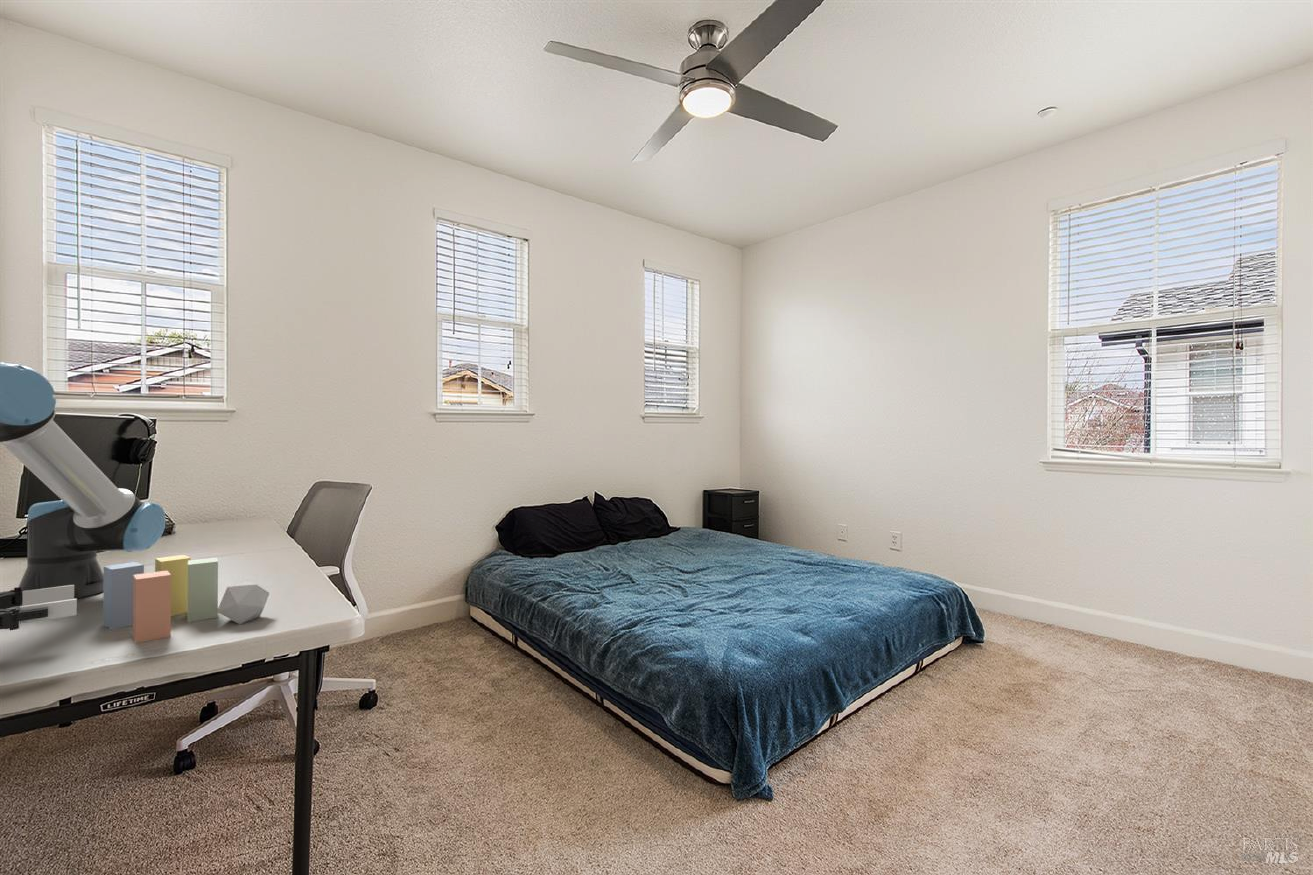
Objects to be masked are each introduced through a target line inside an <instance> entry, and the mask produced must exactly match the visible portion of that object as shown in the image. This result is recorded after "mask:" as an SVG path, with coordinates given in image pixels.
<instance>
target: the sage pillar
mask: <svg viewBox="0 0 1313 875" xmlns="http://www.w3.org/2000/svg"><path fill="white" fill-rule="evenodd" d="M218 592H219V560H218V557H210V558H200V559H198V558H197V559H191V560H188V613H186V614H187V616H186V617H187V618H186V619H187V623H188V622H189V623H190V622H196V621H202V620H210V619H214V618H215V619H217V618H218V615H219V613H218V612H217V610H218V607H219V606H218V603H219V602H218V601H219V598H218V597H219V595H218V594H219V593H218Z"/></svg>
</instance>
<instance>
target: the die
mask: <svg viewBox="0 0 1313 875" xmlns="http://www.w3.org/2000/svg"><path fill="white" fill-rule="evenodd" d="M269 596H270V592H269V591H267V590H266V589H265V588H263V587H261V586H259V585H258V584H256V583H255V582H252V581H249V580H245V581H242V582H239V583H234V584H233V585H230V586H226V589H225V591H224V594H223V596H222V598H221V601H220V603H219V606H218V610H217V612H218V614H221V615H222V616H223V617H225V618H228V619H229V620H231V621H233V622H234V623H236V624H239V625H242V624H245V623H247V622H249V621H252V620H254V619H257V618H260V617H261V615H262V613H263V611H264V608H265V606H266V603H267V601H268V598H269Z"/></svg>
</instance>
